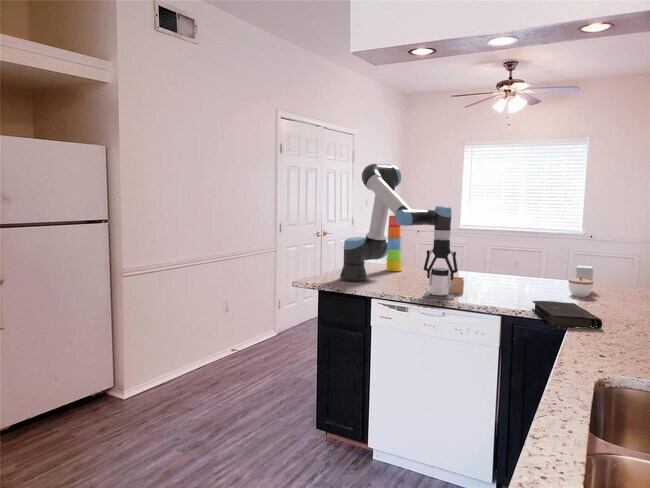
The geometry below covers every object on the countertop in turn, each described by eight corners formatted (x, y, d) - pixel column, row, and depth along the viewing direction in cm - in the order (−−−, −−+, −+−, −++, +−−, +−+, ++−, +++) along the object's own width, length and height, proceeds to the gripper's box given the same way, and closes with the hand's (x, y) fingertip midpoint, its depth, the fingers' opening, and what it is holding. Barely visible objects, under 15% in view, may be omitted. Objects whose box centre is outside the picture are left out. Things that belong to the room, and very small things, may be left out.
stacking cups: (383, 271, 292) (385, 215, 288) (387, 268, 302) (389, 214, 298) (399, 272, 289) (402, 216, 285) (403, 269, 298) (405, 215, 294)
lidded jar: (589, 294, 236) (591, 276, 234) (594, 299, 225) (595, 279, 224) (565, 292, 239) (567, 274, 238) (569, 297, 229) (570, 278, 228)
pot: (448, 292, 233) (448, 278, 232) (449, 290, 239) (449, 276, 239) (462, 294, 231) (463, 280, 230) (463, 291, 237) (464, 277, 236)
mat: (422, 297, 222) (422, 296, 222) (426, 291, 235) (426, 290, 235) (453, 300, 217) (453, 299, 217) (455, 294, 230) (455, 293, 230)
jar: (438, 296, 220) (439, 271, 219) (426, 293, 227) (427, 268, 226) (451, 294, 225) (453, 269, 224) (439, 291, 232) (440, 267, 230)
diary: (575, 314, 199) (576, 302, 199) (601, 331, 175) (603, 318, 174) (529, 311, 202) (530, 299, 201) (549, 327, 177) (550, 314, 176)
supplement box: (590, 289, 247) (592, 266, 245) (591, 292, 240) (593, 268, 239) (574, 288, 250) (576, 265, 248) (575, 291, 243) (577, 267, 242)
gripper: (418, 238, 223) (416, 285, 225) (464, 240, 216) (462, 289, 219) (420, 237, 230) (418, 282, 232) (465, 239, 223) (463, 286, 226)
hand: (439, 285), depth 225 cm, fingers closed on jar, 8 cm apart
